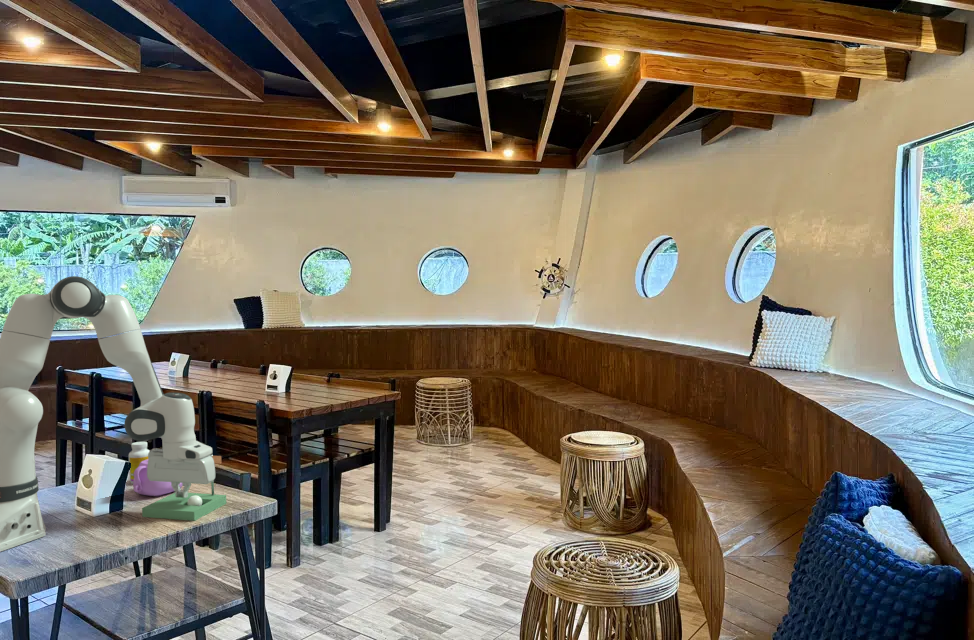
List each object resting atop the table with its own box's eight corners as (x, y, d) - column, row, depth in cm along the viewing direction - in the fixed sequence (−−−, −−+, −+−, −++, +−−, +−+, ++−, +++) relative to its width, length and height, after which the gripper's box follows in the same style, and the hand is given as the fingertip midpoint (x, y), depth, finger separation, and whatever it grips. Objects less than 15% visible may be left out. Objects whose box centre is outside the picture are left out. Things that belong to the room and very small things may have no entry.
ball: (195, 497, 206) (183, 498, 207) (197, 511, 207) (185, 512, 208) (203, 492, 210) (191, 494, 211) (206, 506, 211) (194, 507, 212)
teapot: (150, 503, 217) (148, 463, 216) (120, 497, 223) (118, 459, 222) (203, 484, 235) (202, 448, 234) (173, 479, 241) (172, 444, 240)
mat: (194, 520, 200) (194, 511, 200) (142, 516, 204) (142, 508, 204) (226, 503, 215) (226, 495, 215) (177, 500, 219) (176, 491, 219)
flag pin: (222, 496, 214) (220, 455, 213) (211, 495, 215) (209, 455, 214) (223, 495, 215) (221, 455, 214) (212, 494, 215) (210, 454, 215)
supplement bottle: (153, 482, 238) (151, 443, 237) (130, 486, 234) (128, 446, 233) (151, 477, 243) (149, 439, 242) (129, 481, 240) (127, 442, 239)
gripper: (140, 450, 208) (143, 498, 209) (203, 453, 203) (206, 502, 204) (155, 445, 214) (158, 491, 215) (217, 448, 209) (219, 495, 210)
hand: (181, 497), depth 210 cm, fingers closed
